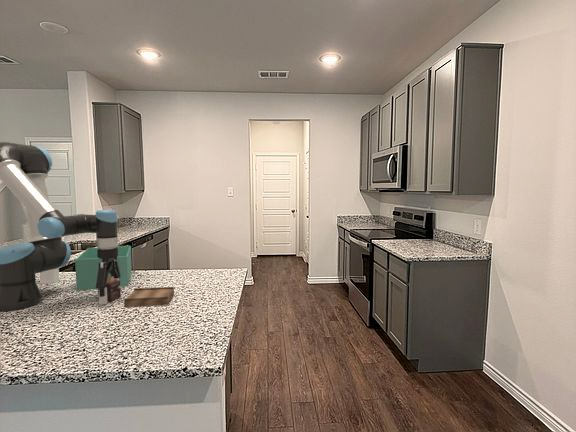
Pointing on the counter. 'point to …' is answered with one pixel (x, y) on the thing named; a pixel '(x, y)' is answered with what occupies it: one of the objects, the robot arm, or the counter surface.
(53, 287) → the counter surface
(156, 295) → the dock
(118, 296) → the box
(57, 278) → the milk
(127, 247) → the box
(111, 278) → the tan rounded cube
